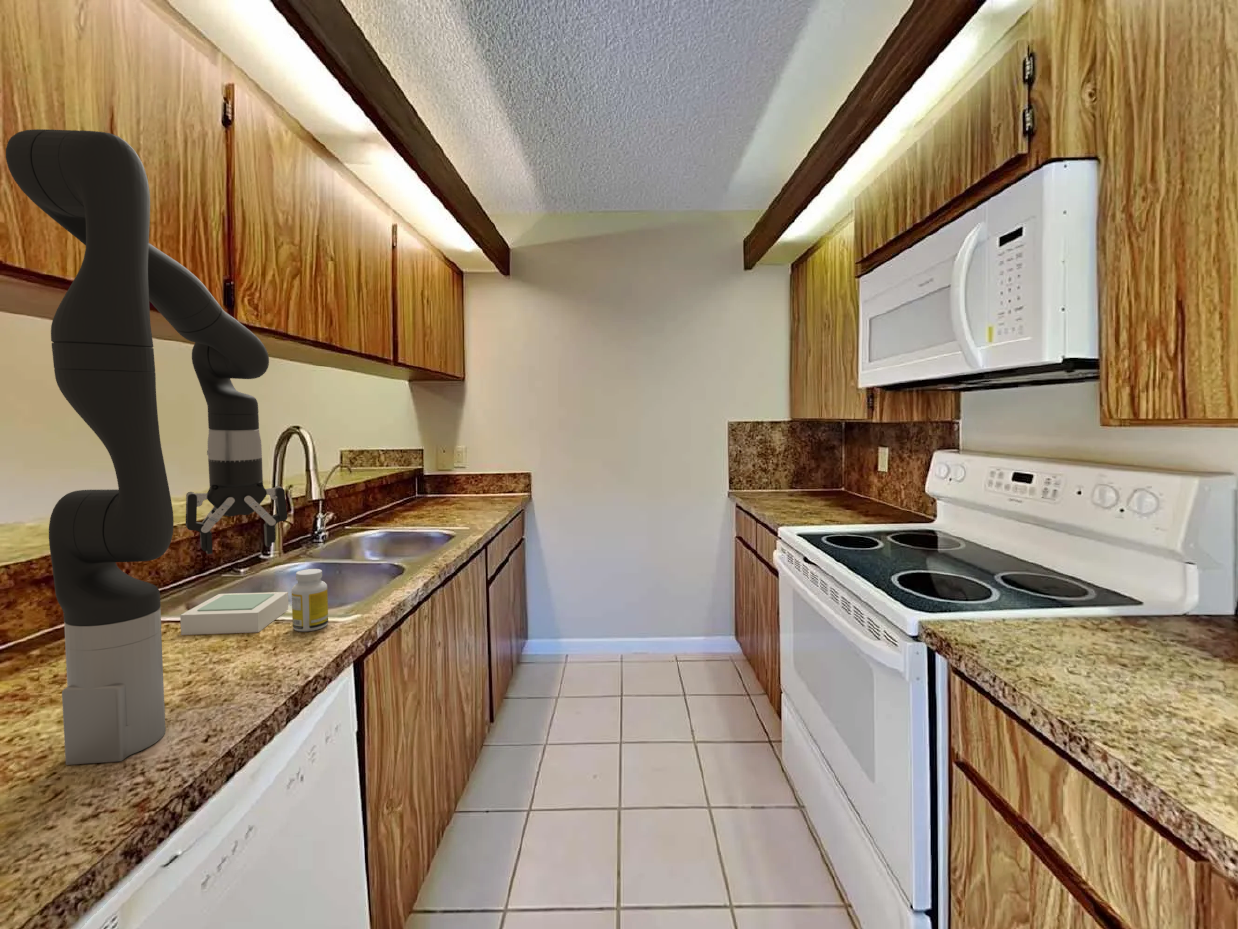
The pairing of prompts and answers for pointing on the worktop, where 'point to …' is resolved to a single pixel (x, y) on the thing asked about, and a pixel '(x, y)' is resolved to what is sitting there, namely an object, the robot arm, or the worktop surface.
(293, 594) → the pill bottle
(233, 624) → the stand
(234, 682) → the worktop surface
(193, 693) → the worktop surface
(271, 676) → the worktop surface
